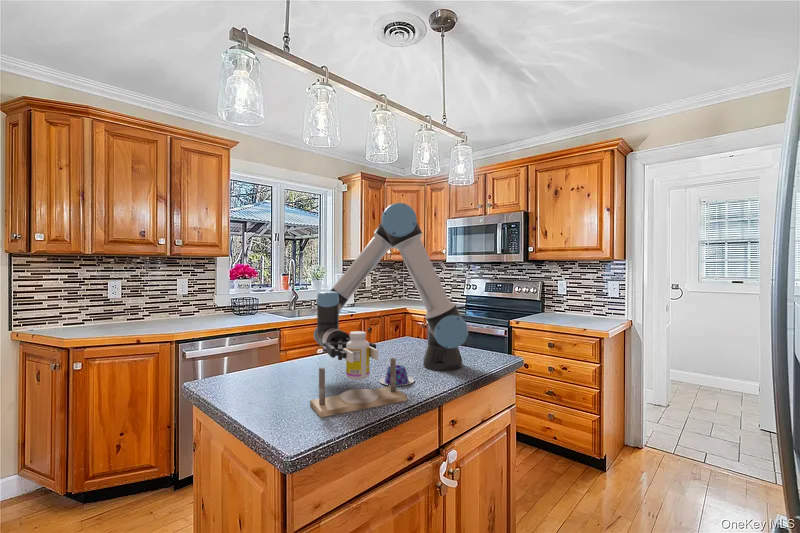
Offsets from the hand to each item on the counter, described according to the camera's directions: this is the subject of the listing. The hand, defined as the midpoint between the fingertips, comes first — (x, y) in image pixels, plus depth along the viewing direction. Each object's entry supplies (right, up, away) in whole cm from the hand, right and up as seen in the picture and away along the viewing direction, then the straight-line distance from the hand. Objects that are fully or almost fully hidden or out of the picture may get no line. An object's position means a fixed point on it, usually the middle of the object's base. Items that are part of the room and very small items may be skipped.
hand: (364, 356), depth 110 cm
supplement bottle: (-2, -7, +5) cm, 9 cm away
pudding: (+9, -15, +25) cm, 30 cm away
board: (-2, -14, +5) cm, 15 cm away
